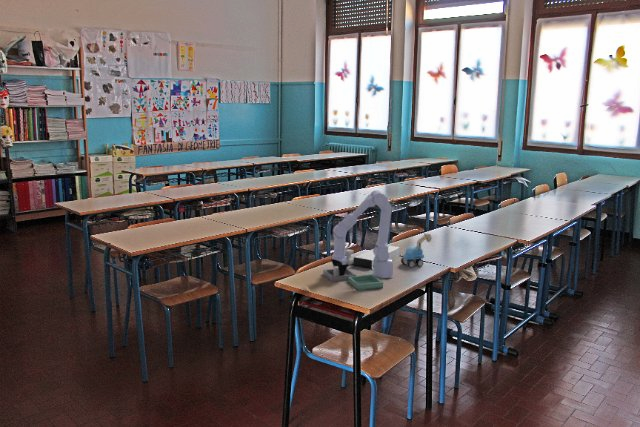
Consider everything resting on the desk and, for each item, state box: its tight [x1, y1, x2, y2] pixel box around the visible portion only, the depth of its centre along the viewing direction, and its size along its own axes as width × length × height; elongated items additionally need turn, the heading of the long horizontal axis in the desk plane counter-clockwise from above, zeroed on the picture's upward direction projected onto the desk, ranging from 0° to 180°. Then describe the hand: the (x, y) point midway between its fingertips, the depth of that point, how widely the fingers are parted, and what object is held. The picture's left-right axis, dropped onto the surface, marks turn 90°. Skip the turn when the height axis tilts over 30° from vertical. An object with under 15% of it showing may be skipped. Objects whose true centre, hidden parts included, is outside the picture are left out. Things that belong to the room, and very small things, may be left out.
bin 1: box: [322, 267, 357, 283], centre depth 284 cm, size 13×13×3 cm
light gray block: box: [332, 266, 339, 276], centre depth 283 cm, size 5×4×5 cm
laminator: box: [353, 245, 401, 271], centre depth 313 cm, size 34×12×6 cm, turn 146°
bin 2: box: [347, 274, 384, 292], centre depth 272 cm, size 13×13×3 cm
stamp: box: [345, 248, 355, 266], centre depth 307 cm, size 9×7×8 cm
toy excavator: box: [400, 232, 432, 268], centre depth 307 cm, size 9×17×17 cm, turn 112°
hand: (339, 274), depth 284 cm, fingers open, 7 cm apart
